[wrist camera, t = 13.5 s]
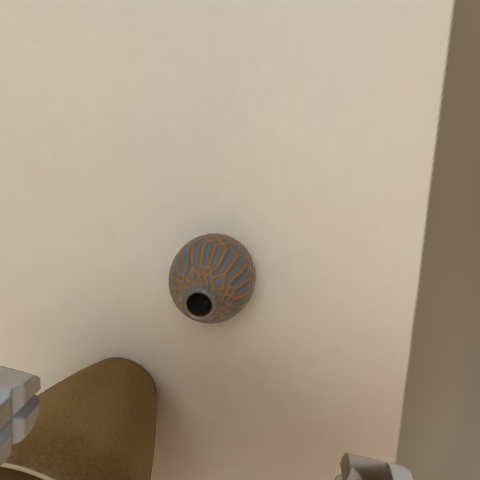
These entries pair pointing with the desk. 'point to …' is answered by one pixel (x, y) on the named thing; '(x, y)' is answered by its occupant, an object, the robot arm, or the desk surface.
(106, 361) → the plant pot
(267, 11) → the desk surface
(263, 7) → the desk surface
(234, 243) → the vase
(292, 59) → the desk surface
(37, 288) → the desk surface
